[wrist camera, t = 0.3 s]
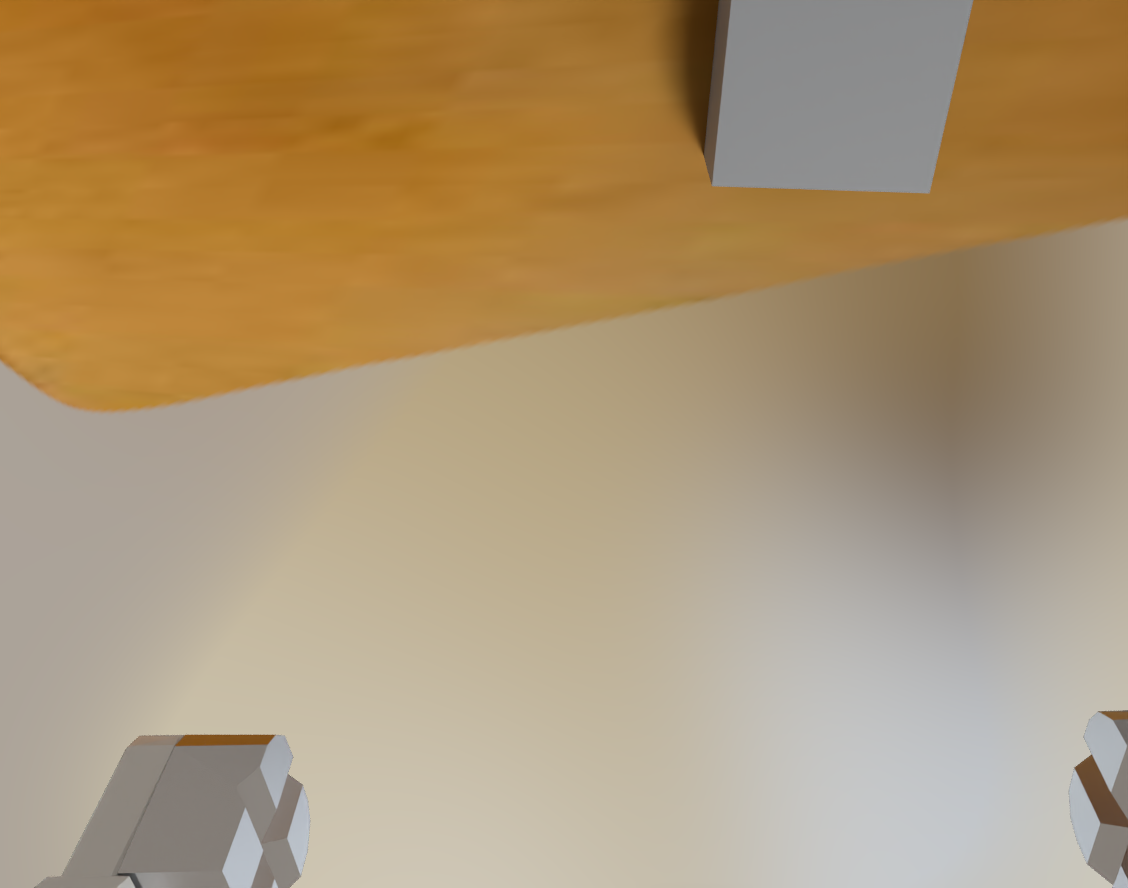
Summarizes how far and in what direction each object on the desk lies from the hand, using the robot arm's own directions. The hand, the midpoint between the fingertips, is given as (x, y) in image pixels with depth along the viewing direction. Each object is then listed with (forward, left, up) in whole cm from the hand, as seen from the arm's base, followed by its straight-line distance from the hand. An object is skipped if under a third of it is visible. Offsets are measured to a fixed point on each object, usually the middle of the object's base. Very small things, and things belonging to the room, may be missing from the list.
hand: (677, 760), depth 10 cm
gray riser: (+2, +9, -44) cm, 45 cm away
